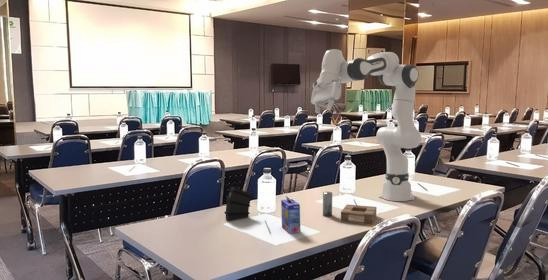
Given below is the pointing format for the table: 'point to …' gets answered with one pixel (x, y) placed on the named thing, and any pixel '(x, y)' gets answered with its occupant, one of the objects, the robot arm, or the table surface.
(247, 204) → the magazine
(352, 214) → the socket block
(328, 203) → the barrel peg
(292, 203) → the ink cartridge box
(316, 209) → the table surface
